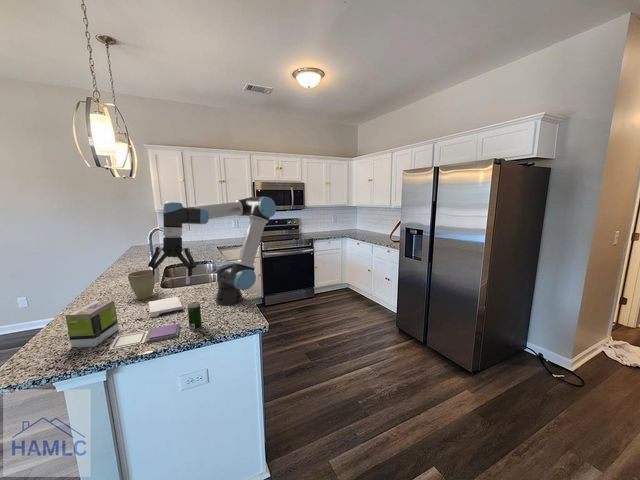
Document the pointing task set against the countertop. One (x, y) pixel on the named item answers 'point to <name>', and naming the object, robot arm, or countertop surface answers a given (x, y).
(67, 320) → the tea box
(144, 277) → the plant pot
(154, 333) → the ink pad
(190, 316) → the beer can
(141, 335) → the print sheet
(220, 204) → the robot arm
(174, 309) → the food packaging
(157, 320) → the countertop surface
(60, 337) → the countertop surface
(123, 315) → the countertop surface
